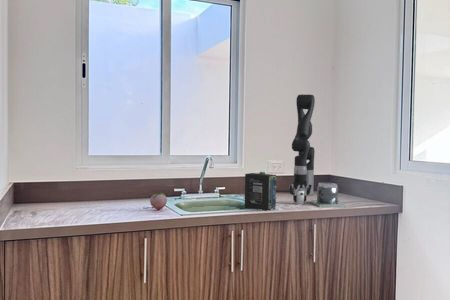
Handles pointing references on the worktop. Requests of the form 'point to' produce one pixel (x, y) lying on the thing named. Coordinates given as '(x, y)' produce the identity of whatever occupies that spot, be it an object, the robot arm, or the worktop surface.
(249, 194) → the black labelled box
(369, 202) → the worktop surface
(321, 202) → the motor
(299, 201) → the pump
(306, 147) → the robot arm
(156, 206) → the decorative fruit
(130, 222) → the worktop surface
